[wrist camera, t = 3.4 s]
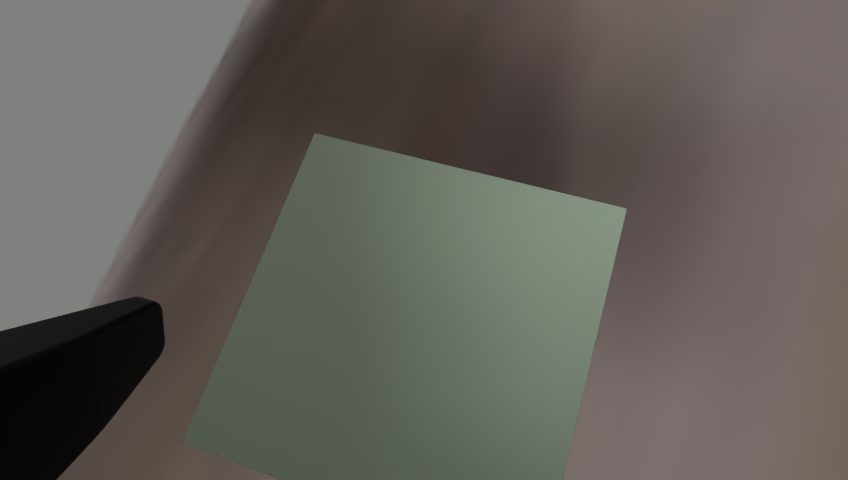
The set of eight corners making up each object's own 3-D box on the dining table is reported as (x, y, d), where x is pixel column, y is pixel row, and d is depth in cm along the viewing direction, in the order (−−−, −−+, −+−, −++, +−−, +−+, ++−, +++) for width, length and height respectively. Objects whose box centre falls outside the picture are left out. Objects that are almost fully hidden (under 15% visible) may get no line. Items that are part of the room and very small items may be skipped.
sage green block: (511, 501, 17) (540, 577, 6) (365, 448, 18) (182, 442, 7) (551, 348, 18) (626, 208, 8) (412, 307, 19) (314, 132, 9)
